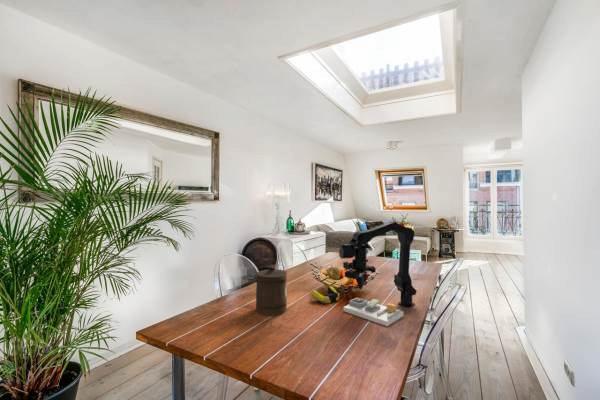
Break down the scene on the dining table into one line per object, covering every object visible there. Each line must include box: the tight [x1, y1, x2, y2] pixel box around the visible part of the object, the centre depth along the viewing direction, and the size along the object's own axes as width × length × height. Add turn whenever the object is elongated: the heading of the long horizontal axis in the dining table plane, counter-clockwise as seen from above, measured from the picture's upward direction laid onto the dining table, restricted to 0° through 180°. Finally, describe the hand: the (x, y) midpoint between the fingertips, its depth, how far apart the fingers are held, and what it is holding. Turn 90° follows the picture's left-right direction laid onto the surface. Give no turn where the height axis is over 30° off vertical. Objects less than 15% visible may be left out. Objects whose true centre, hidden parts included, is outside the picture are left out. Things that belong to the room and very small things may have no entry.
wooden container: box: [255, 264, 288, 317], centre depth 139 cm, size 15×15×22 cm
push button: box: [354, 298, 364, 303], centre depth 141 cm, size 4×4×2 cm
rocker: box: [367, 298, 380, 308], centre depth 135 cm, size 6×3×1 cm, turn 134°
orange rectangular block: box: [386, 302, 397, 313], centre depth 131 cm, size 2×4×3 cm, turn 45°
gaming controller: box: [312, 286, 340, 305], centre depth 153 cm, size 15×6×10 cm
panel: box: [343, 297, 404, 327], centre depth 135 cm, size 15×23×4 cm, turn 45°
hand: (360, 289), depth 140 cm, fingers closed
